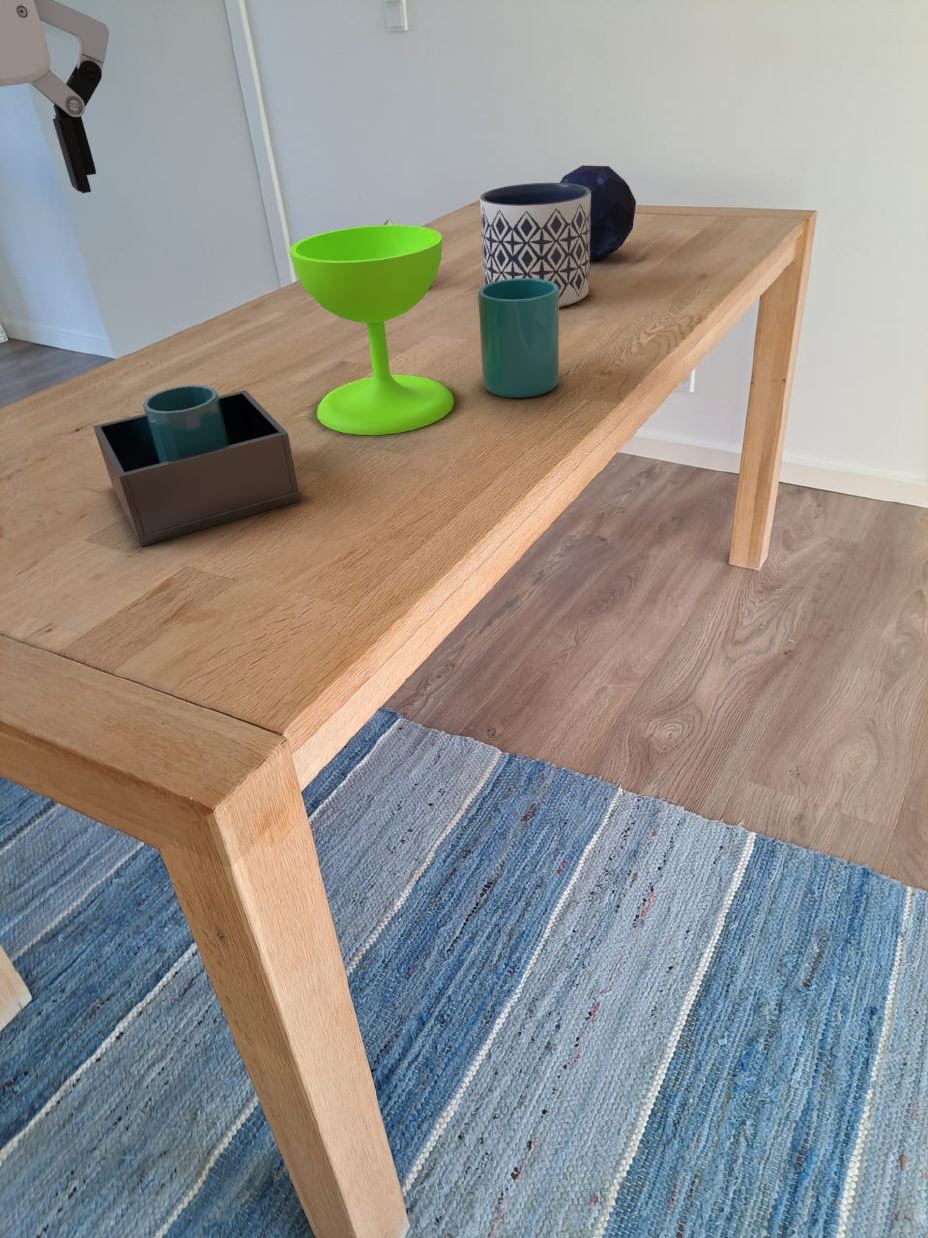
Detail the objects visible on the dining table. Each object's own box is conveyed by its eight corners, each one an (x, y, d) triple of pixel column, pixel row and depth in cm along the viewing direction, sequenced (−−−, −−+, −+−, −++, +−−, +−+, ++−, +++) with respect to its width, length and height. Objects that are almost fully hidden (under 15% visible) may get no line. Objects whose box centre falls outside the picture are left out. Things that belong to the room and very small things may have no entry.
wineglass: (369, 374, 112) (349, 221, 101) (479, 391, 105) (470, 229, 94) (288, 421, 101) (257, 256, 90) (404, 444, 94) (385, 267, 83)
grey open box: (141, 547, 80) (118, 476, 75) (114, 490, 89) (93, 425, 85) (300, 500, 85) (287, 432, 81) (259, 452, 95) (245, 389, 90)
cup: (571, 365, 110) (572, 271, 103) (548, 402, 101) (547, 301, 94) (502, 361, 113) (498, 269, 106) (473, 397, 103) (467, 299, 97)
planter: (468, 308, 132) (462, 204, 124) (505, 279, 144) (502, 181, 135) (571, 314, 126) (572, 205, 118) (601, 283, 138) (604, 182, 130)
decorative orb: (608, 241, 138) (634, 146, 137) (522, 235, 145) (547, 144, 144) (633, 279, 151) (656, 192, 150) (553, 272, 157) (575, 189, 157)
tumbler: (177, 509, 83) (152, 418, 78) (161, 482, 88) (136, 395, 82) (245, 490, 85) (225, 401, 80) (226, 465, 90) (206, 379, 85)
